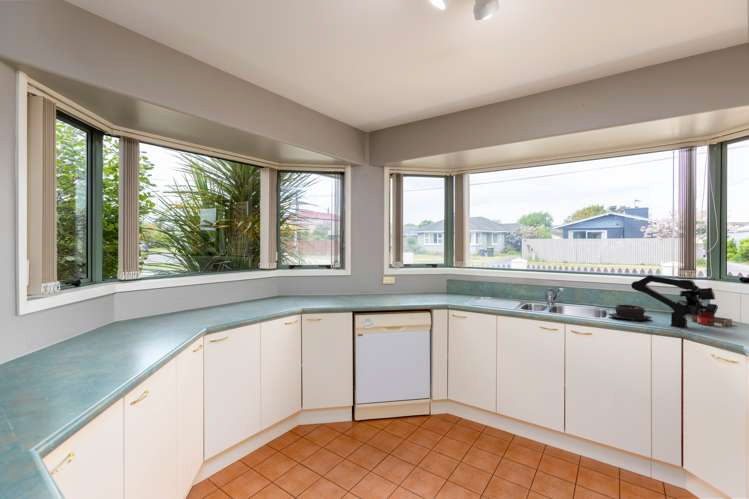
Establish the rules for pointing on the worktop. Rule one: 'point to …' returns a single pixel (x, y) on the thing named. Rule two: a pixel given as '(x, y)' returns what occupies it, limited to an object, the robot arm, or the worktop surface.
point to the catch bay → (718, 320)
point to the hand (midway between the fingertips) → (700, 315)
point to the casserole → (629, 312)
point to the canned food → (706, 319)
